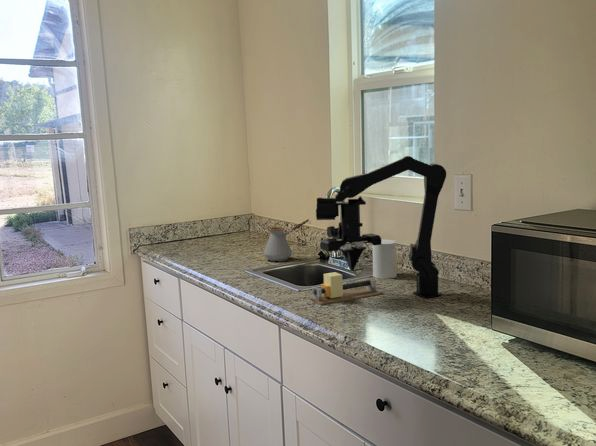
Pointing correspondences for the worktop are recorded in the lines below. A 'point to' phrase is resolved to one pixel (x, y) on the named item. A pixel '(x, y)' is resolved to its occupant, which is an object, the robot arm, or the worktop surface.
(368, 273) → the worktop surface
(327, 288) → the band
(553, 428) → the worktop surface
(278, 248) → the coffee pot
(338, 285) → the sleeve
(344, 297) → the rod on a board
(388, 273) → the cup
